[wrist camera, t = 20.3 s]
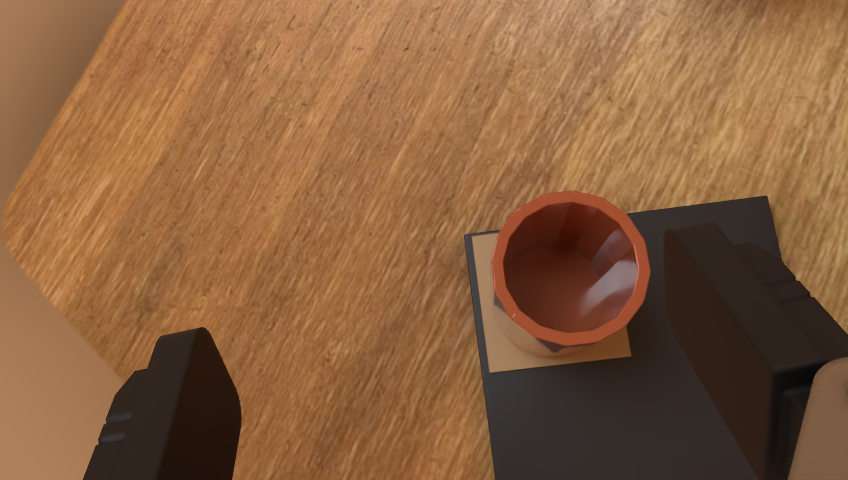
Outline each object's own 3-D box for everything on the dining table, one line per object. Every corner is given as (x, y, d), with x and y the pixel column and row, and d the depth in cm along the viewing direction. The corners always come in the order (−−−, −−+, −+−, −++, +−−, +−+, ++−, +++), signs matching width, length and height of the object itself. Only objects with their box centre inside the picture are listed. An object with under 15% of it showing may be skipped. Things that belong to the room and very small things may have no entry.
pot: (498, 363, 37) (502, 353, 29) (482, 245, 39) (482, 201, 30) (620, 349, 37) (662, 334, 28) (600, 231, 38) (634, 181, 30)
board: (498, 505, 37) (499, 509, 36) (464, 238, 40) (463, 233, 39) (820, 471, 36) (832, 473, 35) (760, 200, 39) (769, 194, 38)
